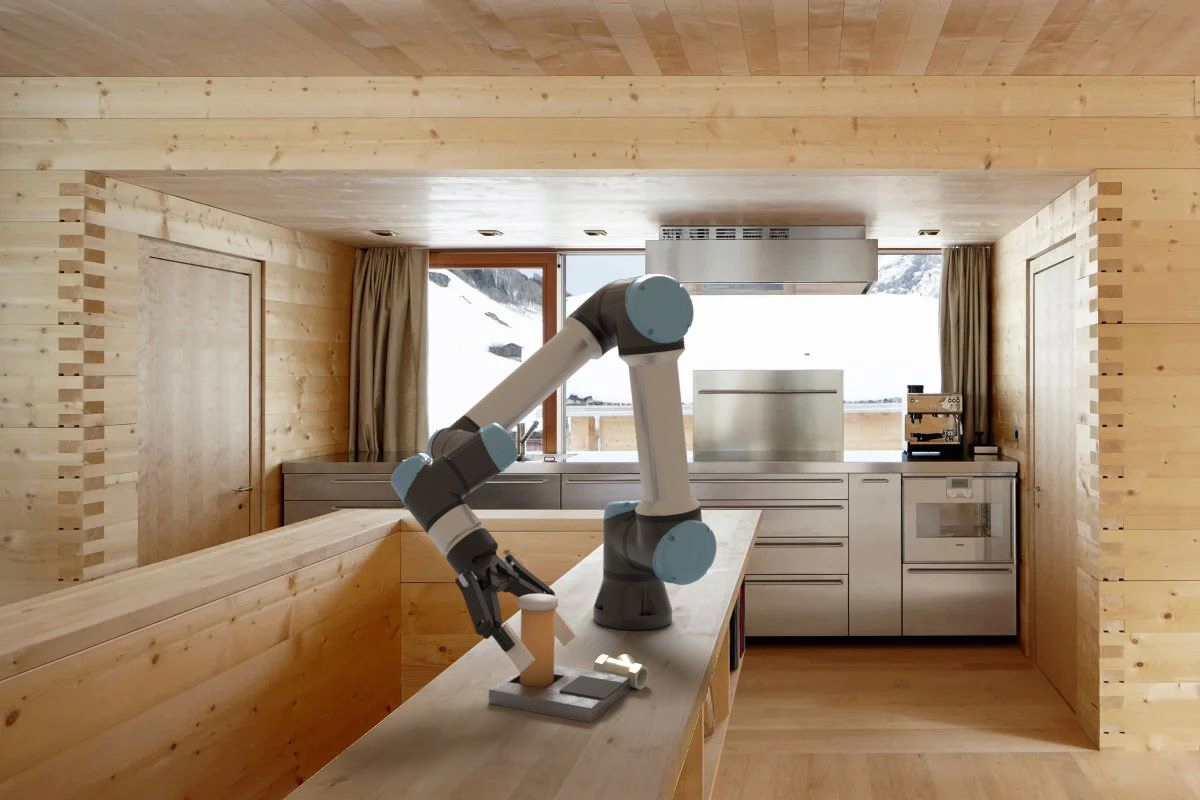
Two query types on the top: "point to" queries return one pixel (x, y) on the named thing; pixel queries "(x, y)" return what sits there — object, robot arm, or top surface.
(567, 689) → the pad
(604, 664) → the pipe fitting
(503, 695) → the plate
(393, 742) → the top surface
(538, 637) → the orange pill bottle
